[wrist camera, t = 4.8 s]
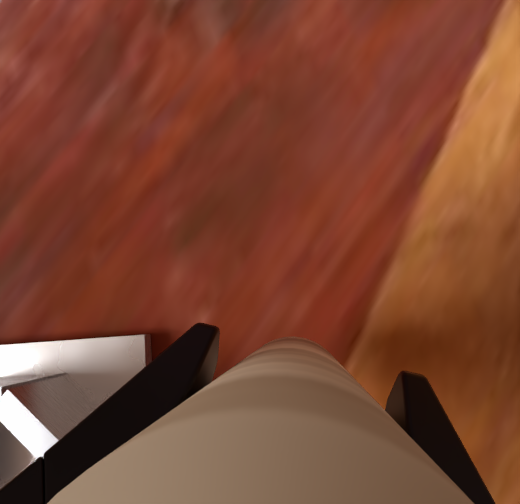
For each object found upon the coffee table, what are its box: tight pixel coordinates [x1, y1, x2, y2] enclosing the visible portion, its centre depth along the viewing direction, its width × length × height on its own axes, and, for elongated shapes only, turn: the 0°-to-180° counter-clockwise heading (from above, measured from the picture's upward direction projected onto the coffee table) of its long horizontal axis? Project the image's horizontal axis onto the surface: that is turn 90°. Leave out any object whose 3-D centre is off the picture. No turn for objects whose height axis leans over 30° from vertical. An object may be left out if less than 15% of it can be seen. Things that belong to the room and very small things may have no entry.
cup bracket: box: [0, 334, 152, 489], centre depth 17 cm, size 9×9×4 cm
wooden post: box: [47, 337, 474, 504], centre depth 9 cm, size 3×3×13 cm
